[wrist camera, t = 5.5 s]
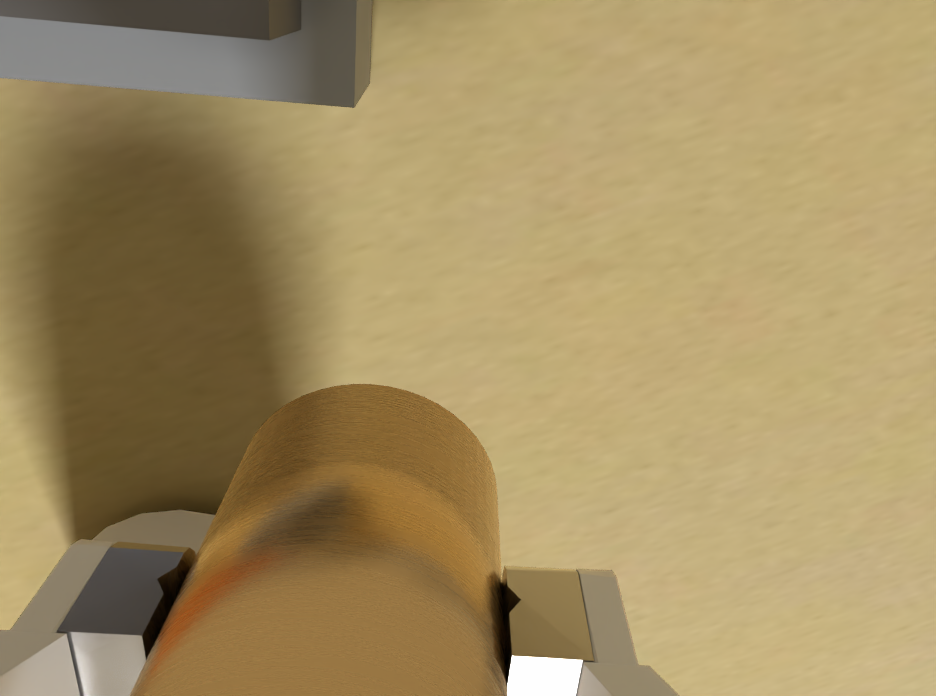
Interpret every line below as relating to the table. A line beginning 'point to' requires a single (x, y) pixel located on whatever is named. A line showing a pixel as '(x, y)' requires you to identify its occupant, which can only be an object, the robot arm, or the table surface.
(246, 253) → the table surface
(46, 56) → the frame
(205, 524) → the can
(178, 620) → the gold cylinder puck
